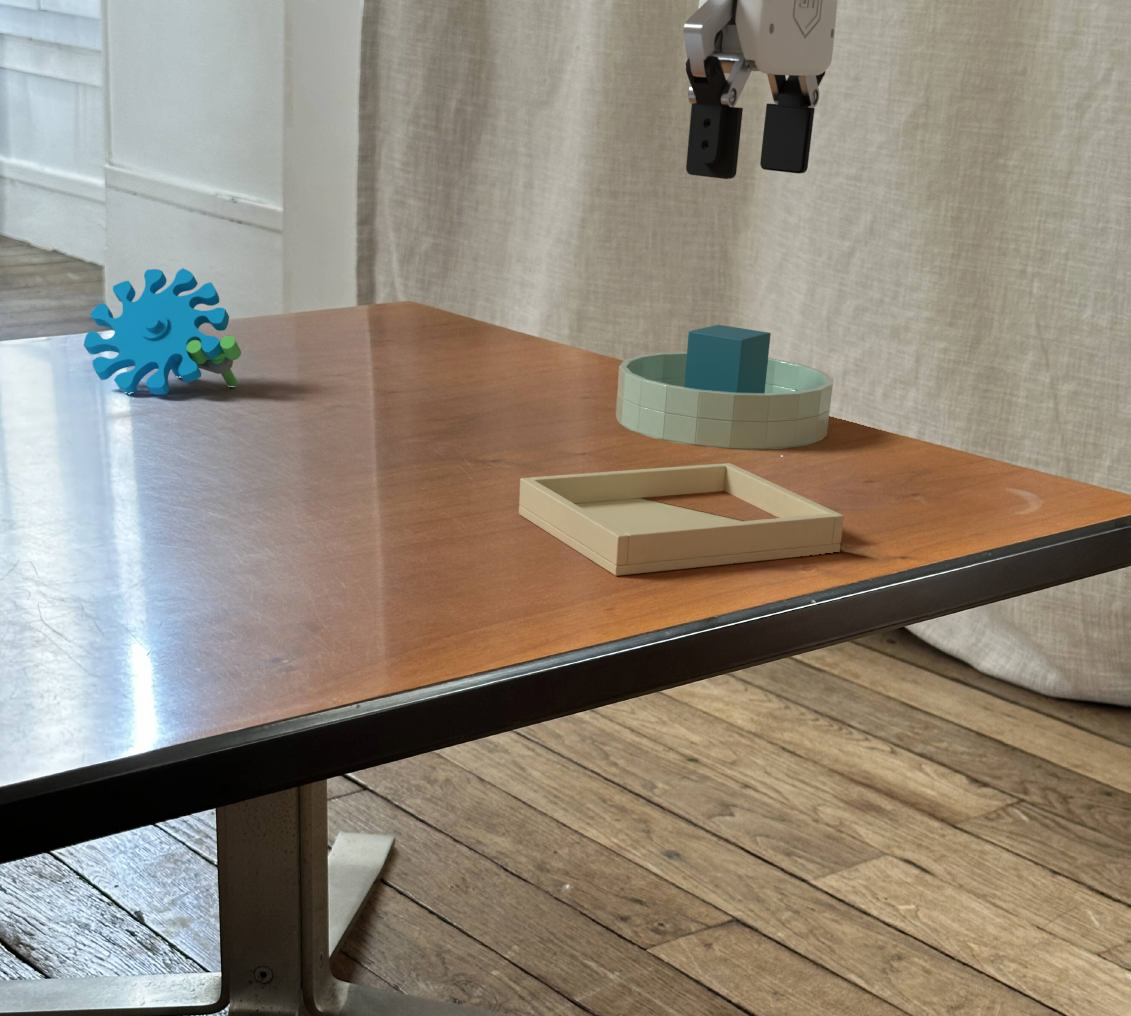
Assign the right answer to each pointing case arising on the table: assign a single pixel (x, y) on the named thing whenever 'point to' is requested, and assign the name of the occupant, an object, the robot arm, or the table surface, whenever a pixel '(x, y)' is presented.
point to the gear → (162, 334)
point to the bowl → (723, 405)
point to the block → (727, 359)
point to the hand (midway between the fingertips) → (748, 173)
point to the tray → (675, 518)
